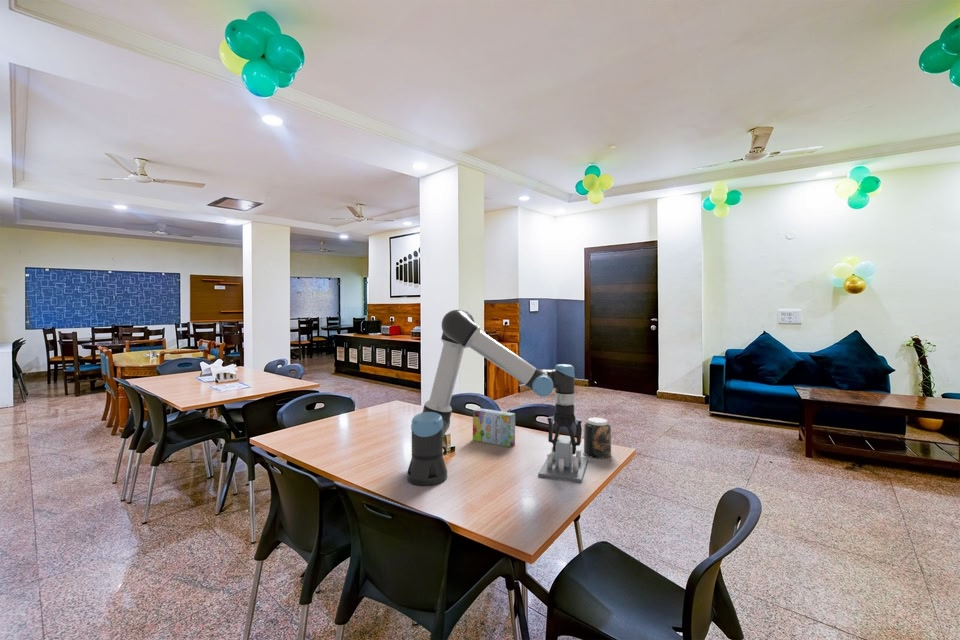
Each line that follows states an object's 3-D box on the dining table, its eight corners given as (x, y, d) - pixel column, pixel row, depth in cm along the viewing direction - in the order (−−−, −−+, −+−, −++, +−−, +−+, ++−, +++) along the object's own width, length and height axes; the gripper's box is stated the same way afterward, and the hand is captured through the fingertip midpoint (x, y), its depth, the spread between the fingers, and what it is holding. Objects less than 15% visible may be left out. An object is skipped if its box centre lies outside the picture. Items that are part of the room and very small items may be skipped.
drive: (555, 465, 157) (555, 442, 157) (559, 456, 166) (560, 435, 166) (568, 467, 155) (569, 444, 155) (572, 458, 164) (572, 436, 164)
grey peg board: (538, 476, 152) (538, 460, 152) (550, 455, 175) (550, 441, 175) (581, 482, 147) (581, 466, 146) (588, 460, 169) (588, 445, 169)
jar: (578, 453, 177) (578, 420, 177) (591, 447, 185) (591, 415, 185) (603, 460, 169) (604, 425, 169) (615, 453, 177) (616, 419, 177)
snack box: (515, 444, 189) (515, 413, 189) (510, 448, 184) (510, 415, 184) (478, 437, 200) (478, 407, 200) (471, 440, 196) (471, 409, 195)
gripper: (540, 403, 160) (539, 461, 160) (587, 407, 153) (586, 467, 154) (544, 399, 167) (543, 454, 167) (589, 403, 160) (588, 460, 161)
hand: (564, 460), depth 161 cm, fingers closed on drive, 5 cm apart
